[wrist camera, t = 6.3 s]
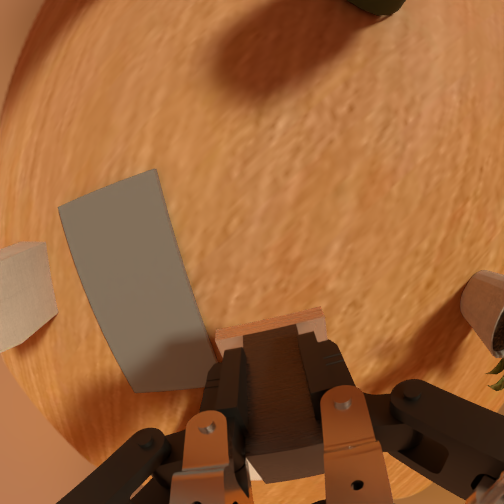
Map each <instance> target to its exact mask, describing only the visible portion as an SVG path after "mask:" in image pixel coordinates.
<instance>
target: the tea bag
mask: <svg viewBox="0 0 504 504" xmlns="http://www.w3.org/2000/svg"><path fill="white" fill-rule="evenodd" d="M57 313H58V309H57V304H56V300H55V295H54V290H53V285H52V280H51V274H50V268H49V262H48V255H47V247H46V242H18V243H16V244H13V245H11V246H8V247H5V248H3V249H1V250H0V353H1V352H4V351H6V350H8V349H10V348H13V347H15V346H17V345H19V344H21V343H23V342H24V341H25V340H27V339H28V338H29V337H30V336H31V335H32V334H34V333H35V332H36V331H37V330H38V329H39V328H41V327H42V326H43V325H44V324H45V323H47V322H48V321H49V320H50V319H51V318H53V317H54V316H55V315H56V314H57Z"/></svg>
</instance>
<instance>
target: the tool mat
mask: <svg viewBox="0 0 504 504" xmlns="http://www.w3.org/2000/svg"><path fill="white" fill-rule="evenodd" d="M58 209H59V213H60V217H61V221H62V224H63V228H64V231H65V235H66V238H67V241H68V244H69V247H70V251H71V254H72V257H73V260H74V263H75V265H76V268H77V271H78V274H79V276H80V279H81V282H82V284H83V287H84V290H85V292H86V295H87V297H88V300H89V302H90V304H91V307H92V309H93V312H94V314H95V316H96V318H97V321H98V323H99V325H100V327H101V329H102V332H103V334H104V336H105V338H106V340H107V342H108V344H109V346H110V348H111V350H112V352H113V354H114V356H115V358H116V360H117V362H118V364H119V366H120V367H121V369H122V371H123V373H124V375H125V377H126V378H127V380H128V382H129V384H130V385H131V387H132V389H133V391H134V392H135V393H145V392H160V391H172V390H183V389H192V388H201V387H205V384H206V379H207V375H208V371H209V370H210V369H211V367H212V366H213V365H214V364H215V363H218V361H217V358H216V356H215V353H214V351H213V348H212V345H211V343H210V340H209V337H208V334H207V332H206V329H205V326H204V323H203V321H202V318H201V315H200V312H199V309H198V306H197V303H196V301H195V298H194V295H193V292H192V289H191V286H190V283H189V280H188V277H187V274H186V270H185V267H184V264H183V261H182V258H181V255H180V251H179V248H178V245H177V242H176V238H175V235H174V232H173V228H172V225H171V221H170V218H169V214H168V211H167V207H166V203H165V200H164V196H163V192H162V189H161V185H160V181H159V177H158V173H157V169H152V170H149V171H146V172H143V173H141V174H138V175H135V176H132V177H130V178H127V179H124V180H121V181H119V182H116V183H114V184H111V185H109V186H106V187H104V188H101V189H99V190H96V191H94V192H91V193H89V194H87V195H84V196H82V197H80V198H77V199H75V200H73V201H70V202H68V203H66V204H64V205H62V206H59V207H58Z"/></svg>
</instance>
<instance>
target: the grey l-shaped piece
mask: <svg viewBox="0 0 504 504" xmlns="http://www.w3.org/2000/svg"><path fill="white" fill-rule="evenodd" d="M312 331H314V333H315V336H316V338H317V341H318V342H321V341H325V340H327V331H326V323H325V316H324V314H323V311H322V309H321V306H320V307H316V308H312V309H308V310H304V311H300V312H296V313H291V314H287V315H283V316H279V317H274V318H270V319H265V320H261V321H256V322H252V323H247V324H242V325H237V326H232V327H227V328H222V329H217V330H216V335H215V342H216V344H217V346H218V349H219V351H220V353H221V355H222V358H223V355H224V350H227V349H233V348H238V347H243V349H244V351H245V354H246V375H247V407H248V433H245V457H246V458H247V460H248V461H249V462H250V464H251V465H252V466H253V468H254V469H255V470H256V472H257V473H258V474H259V476H260V477H261V478H262V480H263V481H264V482H265V483H266V484H268V483H275V482H282V481H289V480H295V479H300V478H305V477H310V476H315V475H320V474H324V473H325V471H324V441H323V433H322V429H321V424H320V420H317V421H316V420H315V415H314V411H313V406H312V402H311V397H310V393H309V389H308V384H307V380H306V376H305V371H304V367H303V363H302V358H301V354H300V350H299V346H298V341H297V336H296V335H299V334H303V333H308V332H312Z"/></svg>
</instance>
